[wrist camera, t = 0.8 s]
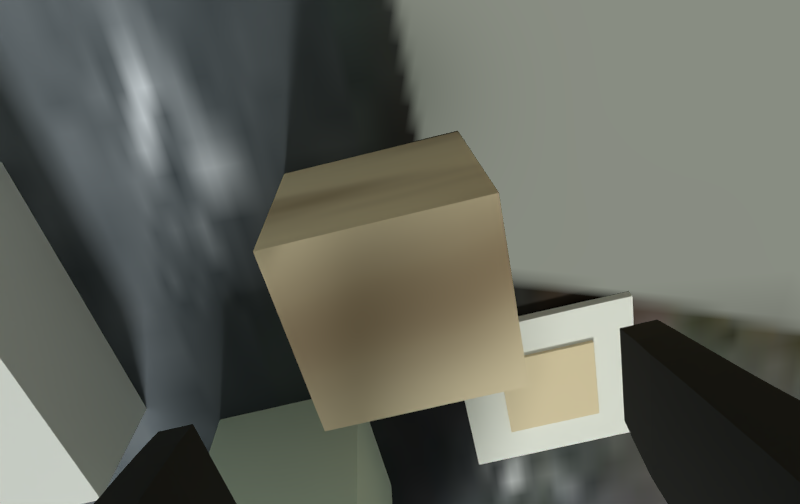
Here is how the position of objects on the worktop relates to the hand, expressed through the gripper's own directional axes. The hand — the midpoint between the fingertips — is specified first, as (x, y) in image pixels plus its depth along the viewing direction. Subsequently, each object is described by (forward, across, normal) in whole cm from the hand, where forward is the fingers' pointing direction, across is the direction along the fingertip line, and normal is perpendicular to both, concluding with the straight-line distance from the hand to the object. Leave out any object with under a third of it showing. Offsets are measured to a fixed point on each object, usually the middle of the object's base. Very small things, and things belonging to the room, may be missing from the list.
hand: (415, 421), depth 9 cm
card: (+8, -4, +7) cm, 11 cm away
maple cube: (+8, 0, 0) cm, 8 cm away
